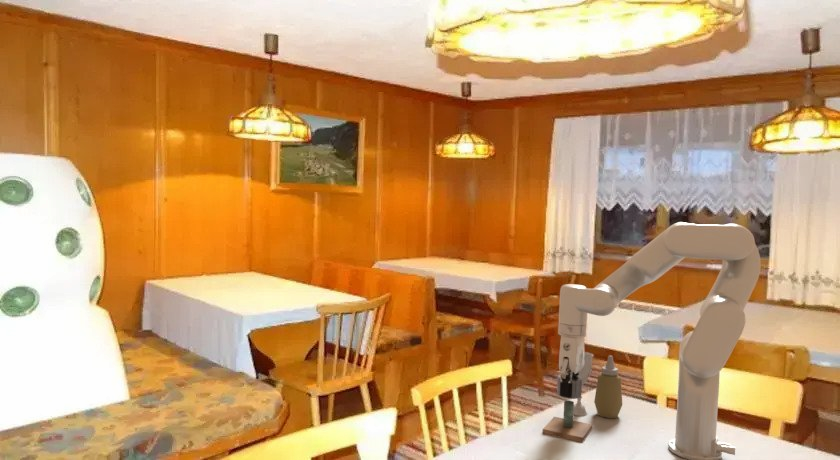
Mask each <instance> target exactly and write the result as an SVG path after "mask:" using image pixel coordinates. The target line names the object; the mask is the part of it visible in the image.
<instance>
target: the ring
mask: <svg viewBox="0 0 840 460" xmlns="http://www.w3.org/2000/svg"><path fill="white" fill-rule="evenodd" d="M567 375H568V376H569V375H570V374H567ZM560 380H561V373H559V374H558V375H557V380H556V381H557V385H556V395H557V396H558V397H561V398H563V399H569V400H570V399H571V400H572V399H573V400H574V399H577V398H580V397H581V396H582V393H581V390H582V387H583V385H582V378H581V377H580V376H578V375H574V374H572V381H571V383H573V385H572V397H571V398H568V397H563V396H560ZM582 391H583V390H582Z"/></svg>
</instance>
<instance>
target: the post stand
mask: <svg viewBox="0 0 840 460" xmlns="http://www.w3.org/2000/svg"><path fill="white" fill-rule="evenodd" d="M563 401H564V402H563V418H562V417H559V416H558V417H557V416H553V417H552V419H550V420H549V422H547V424H546V425H545V426H544V427H543V428H542V434H545V435H549V436H554V437H557V438H558V437H559V438H563V439H567V440H572V441H576V442H581V443H584V441H585V440H586V439H587V437H588V435H589V434H590V432H591V431H592V430H593V424H591V423H588V422H583V421H577V420H574V415H573V410H574V404H575V403H574V401H573V400H570V399H569V400H566V399H565V400H563Z"/></svg>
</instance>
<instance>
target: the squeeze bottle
mask: <svg viewBox="0 0 840 460" xmlns="http://www.w3.org/2000/svg"><path fill="white" fill-rule="evenodd" d="M597 376H598V377H597V383H596V388H595V393H594V394H595V395H594V401H593V402H594V406H595V409H596V412H597V415H598V416H600V417H602V418H607V419H614V418H618V417H619V414H620V412H621V410H622V408H623V393H622V391H623V389H622V377H621V376H620V375H619V368H617V367H616V366H615V361H614V357H613V355H608V356H607V359H606V364H605V366H604V365H603V366H602V367H601V373H600V374H598V375H597Z"/></svg>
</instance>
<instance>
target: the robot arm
mask: <svg viewBox="0 0 840 460" xmlns="http://www.w3.org/2000/svg"><path fill="white" fill-rule="evenodd" d="M684 259H693V260H694V259H697V260H715V261H716V260H717V261H722V263H721V264H722V265H721V268H720V270H719V273H718V275H717V276H716V277H717V278H716V279H715V281H714V283H713V285H712V287H711V289H710V291H709V292H708V294H707V296H706V298H705V300H704V301H703V303H702V305H701V306H700V310H699V316H700V318H699V319H698V320H697V321H698V322H697V323H696V325H695V327H694V328H693V330H691V331H689V332H688V333H686V334H685V335H684V336H683V337H682V339H681V341H680V343H679V354H678V383H677V384H678V385H677V396H676V397H677V399H676V400H677V401H676V419H675V437H674V438H672V439H671V440H669V441H668V443H667V446H668V450H670V452H672V453H673V454H674V455H676V456H679V457H680V458H683V459H686V460H721V459H722V457H723V453H725V454H728V455H732V456H735V455H736V447H735V446H732V445H731V443H729V442H728V443H727V442H722V441H721V440H718V437H719V435H717V426H718V411H719V410H718V409H719V408H718V407H719V397H720V396H719V395H720V394H719V393H720V392H719V391H720V372H721V371H722V369H723V368H724V367H725V365H726V363H727V361H728V360H729V358H730V356H731V354H732V353H733V350H734V349H735V347H736V345H737V343H738V342H739V340H740V338H741V336H742V334H743V332H744V329H745V325H746V314H745V311H744V310H745V308H746V305H747V303H748V301H749V300H750V298H751V295H752V293H753V291H754V289H755V288H756V285H757V284H758V281H759V277H760V274H761V268H762V267H761V266H762V263H761V256H760V252H759V249H758V246H757V245H756V241H755V237H754V235H753V233H752V232H751V230H749V229H748V228H747V227H745V226H743V225H740V224H737V223H726V224H697V223H689V222H683V221H678V222H676V223H673V224H671V225H670V226H669V227H667V228H666V229H665V230H664V231H662V232H661V233H660V234H658V235H657V236H656V237H655V238H654V239H652V240H651V241H649V242H648V243H647V244H646V245H645V246H643V247H642V248H641V249H639V250H638V251H637V252H635V253H634V254H633V255H632V256H631V257H629V259H627V260H626V262H625V263H623V264H622V265H621V266H620V267H618V268H617V269H616V270H615V271H613V272H612V273H611V274H609V275H608V276H607V277H606V278H605V279H603V280H602V281H601V282H599V283H598V284H596V286H595V287H593V288H587V286H585V285H582V284H578V283H577V284H575V283H573V284H572V283H568V284H567V283H566V284H562V285H561V286H560V290H559V308H558V326H557V327H558V329H557V330H558V332H557V333H558V335H559V336H560V342H559V343H560V344H559V345H560V346H559V356H558V369H559V371H560V374H561V380H560V396H559V397H561V396H563V397H568V398H571V397H572V385H573V383H571V381H572V374H574V375H578V376H579V371H580V370H581V369H582V368H583V367H584V352H585V337H587V326H588V325H587V324H588V314H590V315H595V316H598V317H607V316H609V315H611V314H612V313H613V312H614V311H615V309H616V307H617V305H618V304H620V303H621V302H622V301H623V300H625V299H627V297H629V296H630V295H631V294H633V293H634V292H636V291H637V290H638V289H640V288H642V287H644V286H646V285H648V284H651V283H653V282H655V281H656V280H658V279H659V278H661V277H662V276H663V275H665V274H666V273H667V272H668V271H670V270H671V269H672V268H673V267H675V266H676V265H678V264H679V263H680V262H681V261H683V260H684ZM567 374H570V375H569V376H568V375H567ZM563 397H562V398H563ZM568 398H567V399H568Z"/></svg>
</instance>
